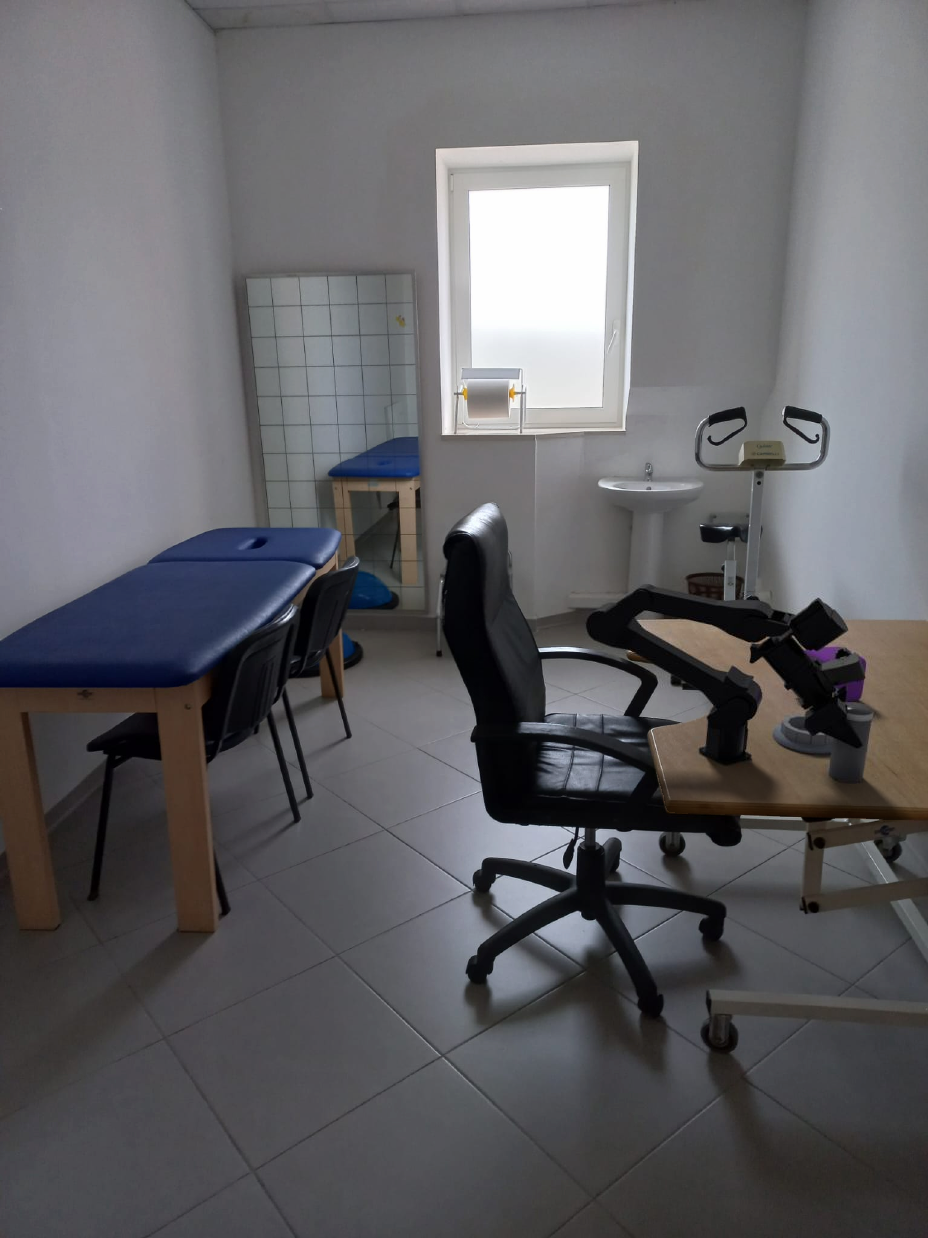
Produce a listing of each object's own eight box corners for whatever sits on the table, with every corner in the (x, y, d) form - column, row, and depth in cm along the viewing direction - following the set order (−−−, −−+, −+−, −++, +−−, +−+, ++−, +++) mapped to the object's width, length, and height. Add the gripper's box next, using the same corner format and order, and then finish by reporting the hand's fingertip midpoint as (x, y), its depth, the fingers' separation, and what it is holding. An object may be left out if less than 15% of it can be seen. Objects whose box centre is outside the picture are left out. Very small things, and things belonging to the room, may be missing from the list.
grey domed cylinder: (847, 786, 136) (858, 716, 133) (820, 772, 141) (829, 705, 138) (870, 779, 139) (881, 710, 135) (843, 766, 143) (852, 699, 140)
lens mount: (811, 759, 146) (813, 743, 145) (758, 733, 156) (760, 718, 155) (859, 746, 151) (861, 730, 150) (805, 722, 161) (806, 707, 160)
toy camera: (777, 691, 177) (782, 646, 174) (829, 684, 181) (835, 639, 179) (815, 710, 167) (821, 662, 164) (868, 701, 172) (875, 654, 169)
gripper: (837, 654, 126) (909, 735, 125) (837, 622, 143) (900, 693, 142) (775, 696, 132) (844, 774, 131) (782, 660, 148) (843, 729, 147)
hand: (860, 740), depth 137 cm, fingers closed on grey domed cylinder, 5 cm apart
